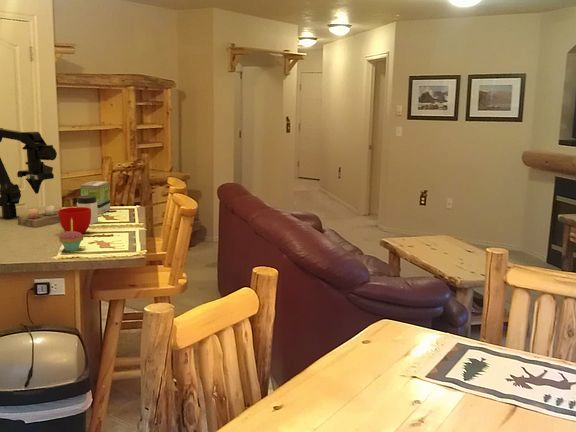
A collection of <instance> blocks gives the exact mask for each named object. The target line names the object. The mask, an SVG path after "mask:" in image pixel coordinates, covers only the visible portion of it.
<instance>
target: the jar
mask: <svg viewBox="0 0 576 432" xmlns="http://www.w3.org/2000/svg"><path fill="white" fill-rule="evenodd" d="M76 200H77V202H76V207H86V208H90V209H91V221H90V225H94V224H98V223H99V215H98V208H97V202H96V196H91V195H87V196H81V195H79V196H77V197H76Z"/></svg>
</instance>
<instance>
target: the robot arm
mask: <svg viewBox="0 0 576 432" xmlns="http://www.w3.org/2000/svg"><path fill="white" fill-rule="evenodd" d="M3 139H8V140H9V139H10V140H14V141H19V142H20V143H22V144H25V145H24V146H23V147H22V150H26V159H27V161H25V165H27V169H24V170H18V171H17V173H16V175H17V178H23V177H26V178H25V181H26V182H27V183H28V184H29V187H31V189H32V191H33V192H34V193H35V194H36V195H37V194H38V195H39V192H40V189H41V184H42V183H43V182H44V181H45V180H52V179H54V178H55V177H54V173H53V170H54V167H53V166H49V165H46V164H45V162H44V161H55V160H56V158H57V155H58V153H57V150H56V149H55V148H54V145H53V144H47V143H46V142H45V140H44V137H42V135H41V133H40V132H39V131H19V130H13V129H7V128H3V127H0V143H1V142H2V141H3ZM21 197H22V191H21V189H20V186H19V185H18V184H17V183H16V184H14V183H13V182H12V181H11V179H10V176H9V174H8V172H7V169H6V167H5V165H4V163H3V160H2V158H1V157H0V207H1V216H0V219H3V220H10V219H18V218H20V215H17V208H16V207H17V206H16V205H19V204H20V200H21Z"/></svg>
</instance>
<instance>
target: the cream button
mask: <svg viewBox="0 0 576 432" xmlns="http://www.w3.org/2000/svg"><path fill="white" fill-rule="evenodd" d="M55 211H56V210H55V206H54V205H45V206H44V213H45V215H46V216H52V215H55Z"/></svg>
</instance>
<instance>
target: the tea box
mask: <svg viewBox="0 0 576 432" xmlns="http://www.w3.org/2000/svg"><path fill="white" fill-rule="evenodd" d="M87 195H91V196H96V202H97V208H98V216H99V215H100V216H101V215H103V213H106V212H108V211H110V210H111V190H110V181H96V180H94V181H93V180H91V181H88V182H86V183H82V184H80V196H87Z"/></svg>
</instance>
